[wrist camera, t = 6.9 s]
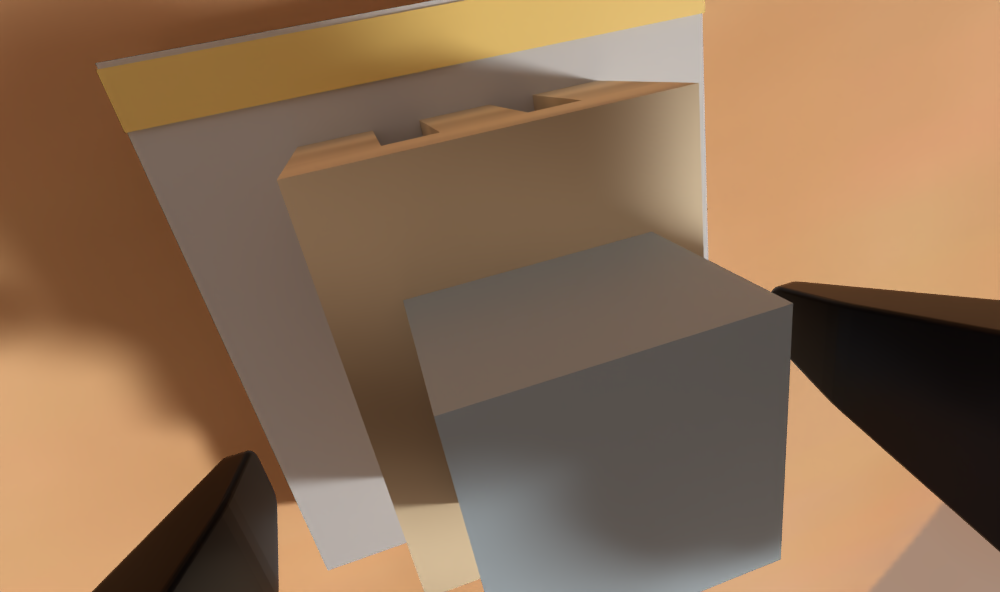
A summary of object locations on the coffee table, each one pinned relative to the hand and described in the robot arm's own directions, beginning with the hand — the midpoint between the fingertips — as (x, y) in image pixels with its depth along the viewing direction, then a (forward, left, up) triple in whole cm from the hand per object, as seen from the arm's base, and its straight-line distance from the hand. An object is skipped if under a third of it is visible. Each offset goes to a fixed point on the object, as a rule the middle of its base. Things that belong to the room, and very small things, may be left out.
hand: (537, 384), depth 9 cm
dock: (0, 0, -6) cm, 6 cm away
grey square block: (0, 0, 0) cm, 0 cm away
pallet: (0, 0, -4) cm, 4 cm away
